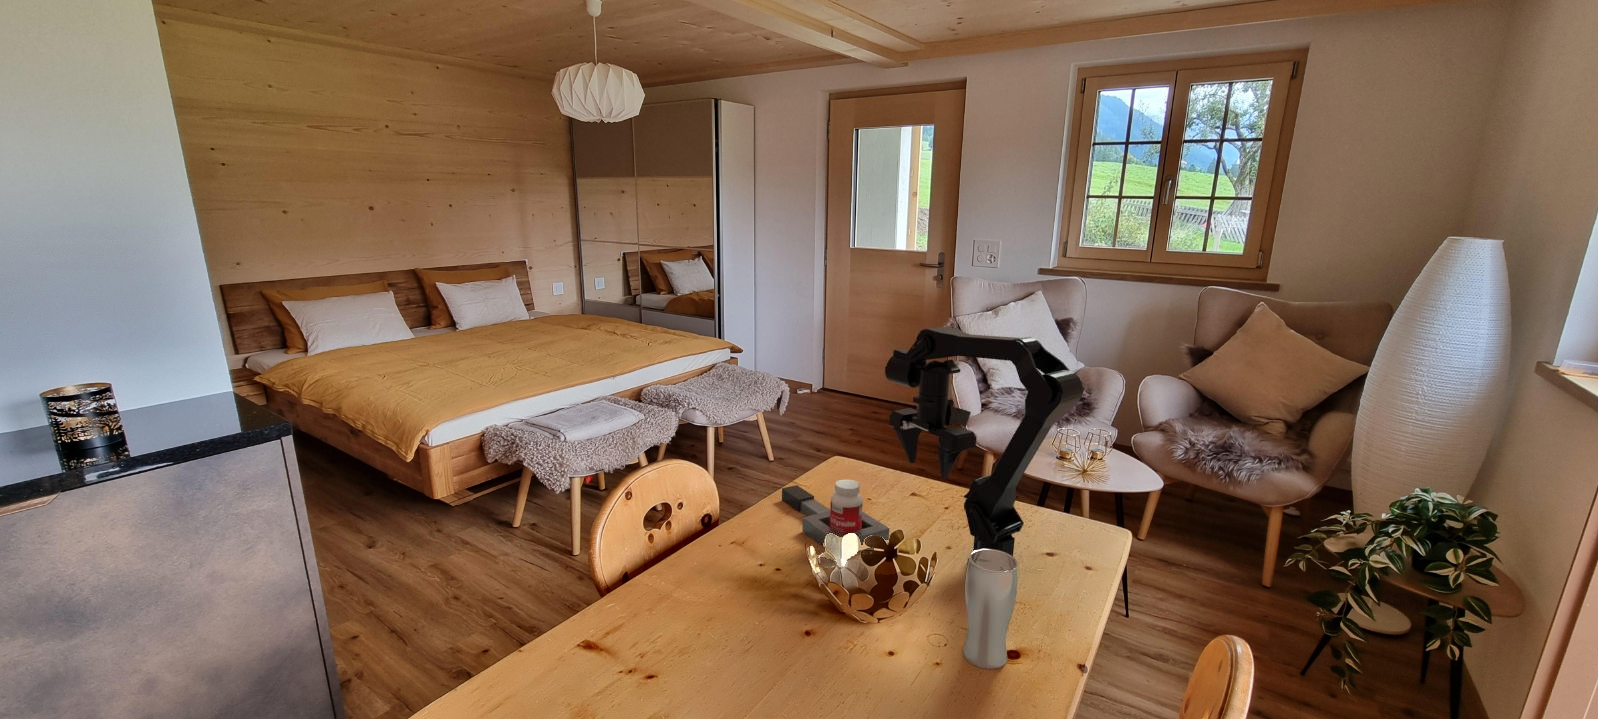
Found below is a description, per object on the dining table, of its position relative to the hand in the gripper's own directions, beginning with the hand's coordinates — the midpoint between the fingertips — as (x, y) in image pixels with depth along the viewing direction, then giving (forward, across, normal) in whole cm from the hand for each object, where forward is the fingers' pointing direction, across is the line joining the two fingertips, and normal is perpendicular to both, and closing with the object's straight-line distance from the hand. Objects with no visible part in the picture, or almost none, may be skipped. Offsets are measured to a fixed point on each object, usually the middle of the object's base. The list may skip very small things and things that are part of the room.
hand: (928, 470), depth 134 cm
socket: (+13, +13, +15) cm, 24 cm away
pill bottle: (+13, +6, +15) cm, 21 cm away
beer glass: (+13, -34, +19) cm, 41 cm away
